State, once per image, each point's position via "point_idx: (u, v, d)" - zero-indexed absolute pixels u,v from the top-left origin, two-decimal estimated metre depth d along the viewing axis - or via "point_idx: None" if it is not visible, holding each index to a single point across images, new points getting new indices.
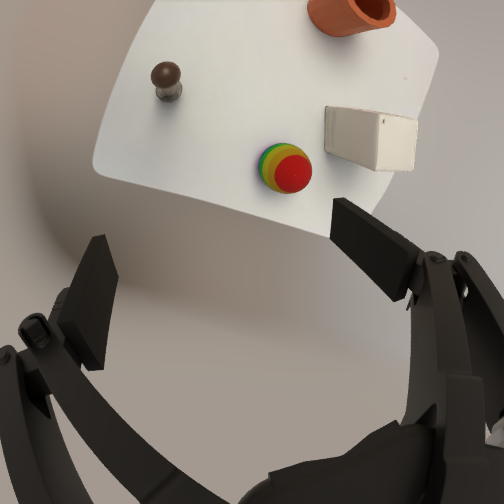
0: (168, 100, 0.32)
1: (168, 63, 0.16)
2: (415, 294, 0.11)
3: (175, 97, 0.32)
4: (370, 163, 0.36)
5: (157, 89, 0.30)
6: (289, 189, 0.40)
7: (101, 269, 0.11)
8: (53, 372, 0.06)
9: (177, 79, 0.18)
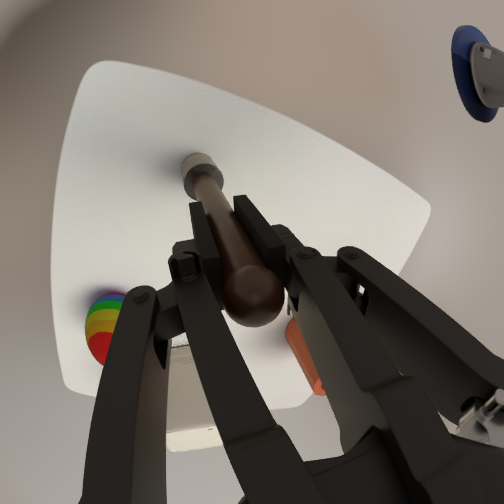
0: (185, 183, 0.23)
1: (281, 309, 0.10)
2: (292, 297, 0.11)
3: (190, 193, 0.24)
4: None
5: (204, 166, 0.23)
6: (92, 351, 0.27)
7: None
8: (191, 305, 0.08)
9: None
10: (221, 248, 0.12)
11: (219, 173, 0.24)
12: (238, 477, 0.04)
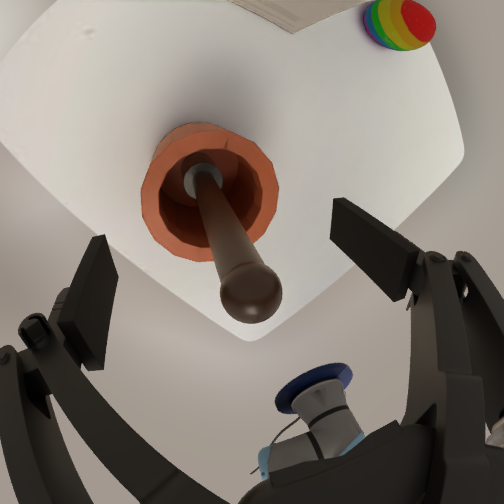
0: (185, 182, 0.23)
1: (279, 305, 0.10)
2: (415, 294, 0.11)
3: (189, 192, 0.24)
4: None
5: (204, 164, 0.23)
6: None
7: (101, 269, 0.11)
8: (53, 372, 0.06)
9: None
10: (220, 245, 0.12)
11: (218, 172, 0.24)
12: None
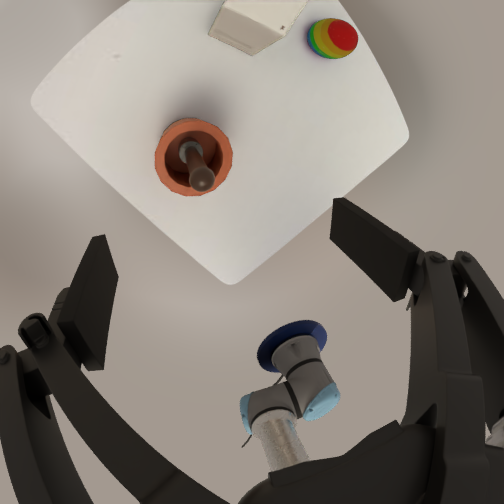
0: (180, 153, 0.38)
1: (212, 182, 0.24)
2: (415, 294, 0.11)
3: (182, 159, 0.38)
4: None
5: (191, 142, 0.37)
6: (355, 30, 0.31)
7: (101, 269, 0.11)
8: (53, 372, 0.06)
9: (197, 190, 0.25)
10: (192, 166, 0.26)
11: (200, 147, 0.38)
12: None
